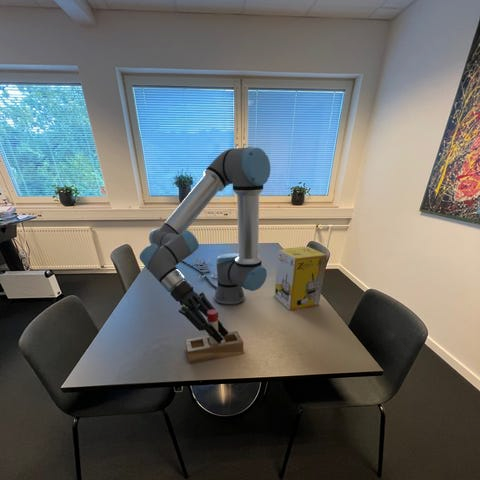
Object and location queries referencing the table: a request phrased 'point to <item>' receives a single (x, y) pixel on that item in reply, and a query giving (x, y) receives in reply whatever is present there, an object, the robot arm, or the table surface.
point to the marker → (213, 321)
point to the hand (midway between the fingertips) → (223, 337)
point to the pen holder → (213, 347)
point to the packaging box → (299, 277)
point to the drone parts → (203, 268)
